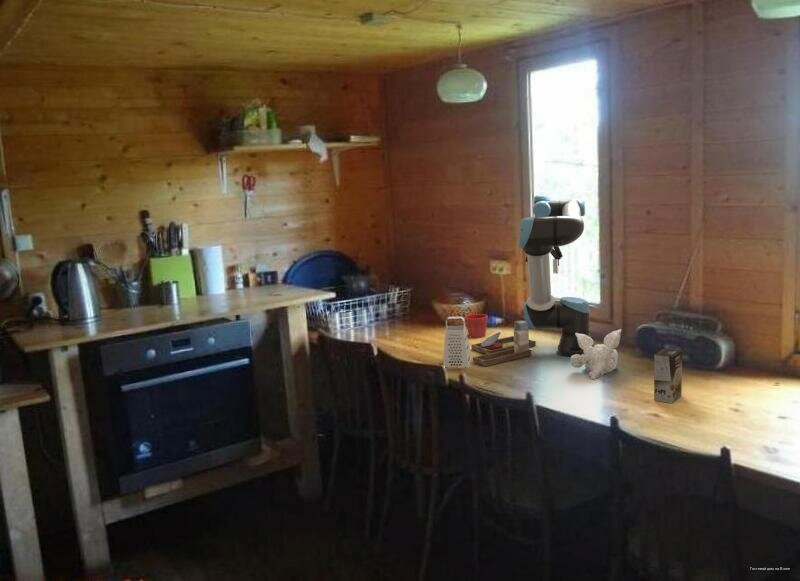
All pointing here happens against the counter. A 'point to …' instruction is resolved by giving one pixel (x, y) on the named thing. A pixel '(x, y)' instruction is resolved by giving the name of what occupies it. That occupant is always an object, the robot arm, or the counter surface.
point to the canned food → (492, 342)
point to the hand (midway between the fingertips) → (544, 275)
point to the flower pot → (476, 325)
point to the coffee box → (667, 375)
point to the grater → (456, 345)
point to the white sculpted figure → (597, 354)
